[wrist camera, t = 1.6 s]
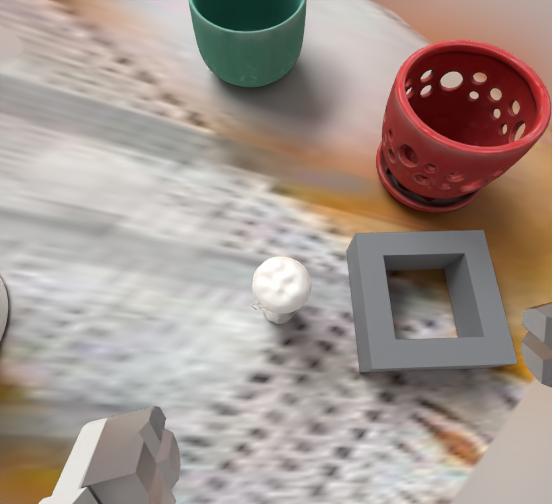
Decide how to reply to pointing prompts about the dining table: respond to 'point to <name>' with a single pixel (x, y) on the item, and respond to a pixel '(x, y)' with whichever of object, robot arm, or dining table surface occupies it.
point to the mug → (249, 38)
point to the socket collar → (462, 291)
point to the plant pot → (457, 124)
